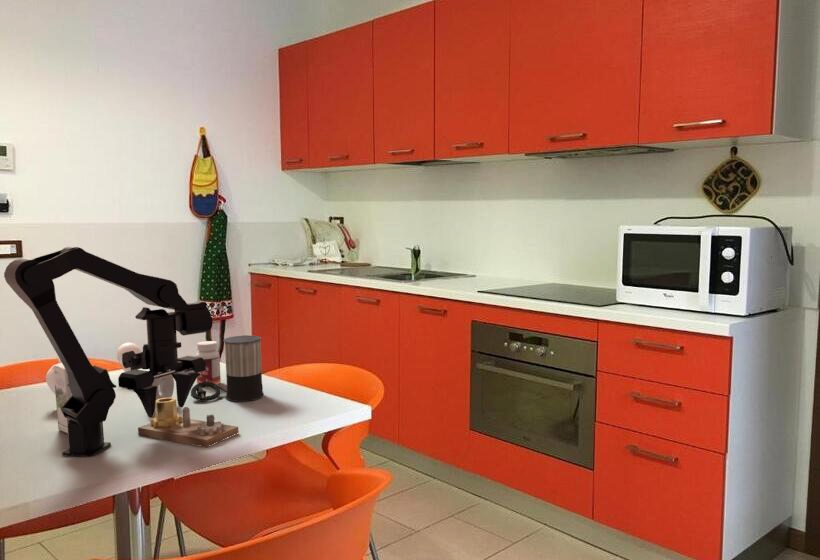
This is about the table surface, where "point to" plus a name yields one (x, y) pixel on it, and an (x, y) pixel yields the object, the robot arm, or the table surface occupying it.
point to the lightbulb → (126, 348)
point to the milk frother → (238, 371)
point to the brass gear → (166, 413)
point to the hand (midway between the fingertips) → (166, 411)
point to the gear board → (191, 431)
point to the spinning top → (51, 378)
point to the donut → (164, 386)
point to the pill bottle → (209, 362)
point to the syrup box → (61, 394)
